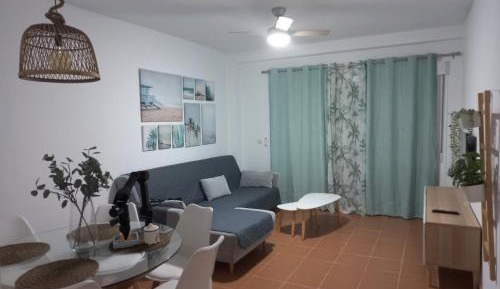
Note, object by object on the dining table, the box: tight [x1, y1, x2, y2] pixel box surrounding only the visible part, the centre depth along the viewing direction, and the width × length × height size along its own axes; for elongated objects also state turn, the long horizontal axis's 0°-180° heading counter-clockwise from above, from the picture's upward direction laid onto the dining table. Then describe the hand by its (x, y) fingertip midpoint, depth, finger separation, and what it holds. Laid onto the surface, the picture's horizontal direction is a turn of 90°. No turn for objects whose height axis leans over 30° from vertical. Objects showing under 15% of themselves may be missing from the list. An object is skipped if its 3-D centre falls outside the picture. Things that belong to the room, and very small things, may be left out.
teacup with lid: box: [142, 223, 160, 244], centre depth 203 cm, size 12×9×12 cm
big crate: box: [112, 231, 140, 248], centre depth 202 cm, size 14×14×4 cm
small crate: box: [119, 229, 132, 242], centre depth 202 cm, size 6×6×6 cm
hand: (125, 237), depth 202 cm, fingers open, 9 cm apart
